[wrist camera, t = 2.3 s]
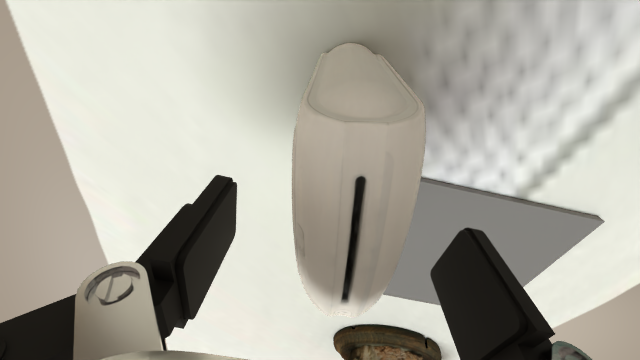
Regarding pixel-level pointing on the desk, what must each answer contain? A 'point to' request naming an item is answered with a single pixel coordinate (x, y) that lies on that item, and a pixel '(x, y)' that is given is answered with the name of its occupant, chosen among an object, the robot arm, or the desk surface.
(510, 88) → the desk surface
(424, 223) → the mat
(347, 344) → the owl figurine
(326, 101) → the photo printer
